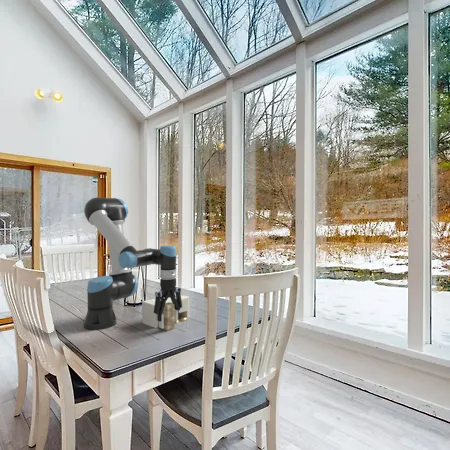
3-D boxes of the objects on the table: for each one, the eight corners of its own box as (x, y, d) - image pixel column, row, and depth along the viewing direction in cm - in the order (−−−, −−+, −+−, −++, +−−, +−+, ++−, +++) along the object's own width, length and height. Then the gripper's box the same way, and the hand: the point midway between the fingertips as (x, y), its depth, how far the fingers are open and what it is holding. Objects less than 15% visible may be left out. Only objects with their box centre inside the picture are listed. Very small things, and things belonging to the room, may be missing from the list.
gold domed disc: (182, 322, 164) (182, 319, 164) (176, 320, 167) (176, 318, 167) (188, 320, 167) (188, 317, 167) (183, 318, 170) (183, 316, 170)
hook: (167, 331, 150) (167, 305, 150) (152, 325, 158) (152, 301, 158) (194, 322, 163) (194, 298, 162) (178, 317, 171) (178, 294, 170)
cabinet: (155, 328, 154) (155, 305, 153) (142, 323, 161) (142, 301, 161) (189, 317, 170) (189, 297, 170) (176, 313, 178) (176, 293, 177)
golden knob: (174, 324, 160) (174, 322, 160) (168, 322, 163) (168, 320, 163) (181, 322, 163) (181, 320, 163) (175, 320, 166) (175, 318, 166)
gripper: (154, 282, 142) (155, 333, 142) (189, 276, 157) (189, 321, 158) (145, 280, 147) (145, 329, 147) (179, 274, 162) (180, 318, 163)
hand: (168, 325), depth 153 cm, fingers open, 8 cm apart
